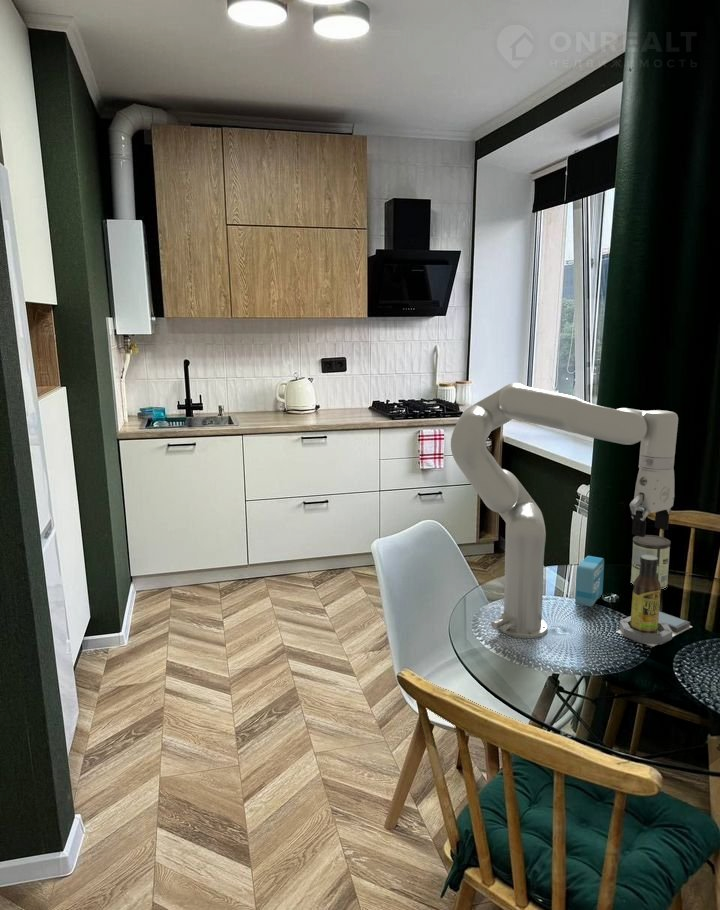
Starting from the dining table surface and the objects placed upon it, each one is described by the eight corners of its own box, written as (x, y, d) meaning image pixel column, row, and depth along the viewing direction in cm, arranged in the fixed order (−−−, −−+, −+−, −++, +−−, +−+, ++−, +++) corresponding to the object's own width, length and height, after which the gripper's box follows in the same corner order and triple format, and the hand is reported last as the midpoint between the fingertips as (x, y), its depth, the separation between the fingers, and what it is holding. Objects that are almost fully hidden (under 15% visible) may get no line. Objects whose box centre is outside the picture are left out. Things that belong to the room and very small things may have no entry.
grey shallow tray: (653, 653, 153) (654, 640, 153) (611, 635, 162) (612, 624, 162) (694, 631, 164) (695, 620, 163) (653, 616, 173) (653, 605, 172)
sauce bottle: (643, 641, 157) (647, 563, 153) (624, 630, 162) (628, 555, 159) (663, 636, 159) (668, 559, 155) (644, 625, 165) (648, 551, 161)
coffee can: (633, 575, 202) (636, 532, 199) (669, 582, 196) (672, 537, 194) (627, 586, 193) (630, 541, 191) (664, 593, 188) (668, 547, 185)
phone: (676, 632, 161) (677, 628, 160) (643, 620, 168) (643, 615, 168) (689, 626, 164) (689, 621, 164) (656, 614, 171) (656, 609, 171)
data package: (591, 611, 177) (593, 569, 175) (574, 607, 179) (576, 566, 177) (602, 596, 187) (604, 556, 184) (586, 593, 189) (588, 554, 187)
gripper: (650, 469, 145) (643, 542, 148) (691, 461, 155) (684, 529, 158) (620, 464, 151) (614, 534, 154) (661, 456, 161) (655, 522, 164)
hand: (649, 532), depth 156 cm, fingers open, 9 cm apart
